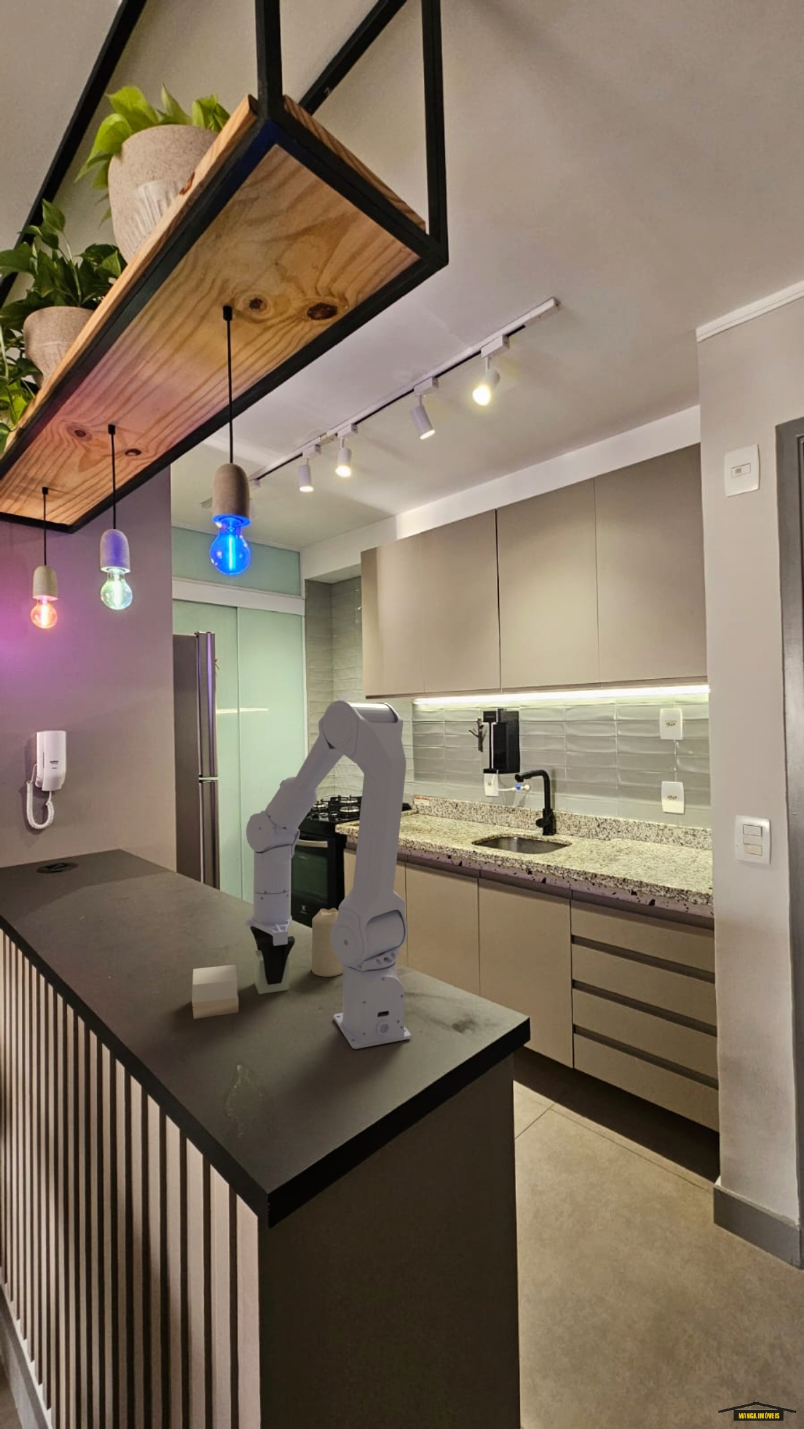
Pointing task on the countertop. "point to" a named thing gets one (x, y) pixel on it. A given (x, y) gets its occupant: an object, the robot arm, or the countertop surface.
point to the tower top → (214, 983)
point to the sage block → (261, 978)
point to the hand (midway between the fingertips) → (271, 977)
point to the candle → (324, 945)
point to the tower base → (215, 1007)
